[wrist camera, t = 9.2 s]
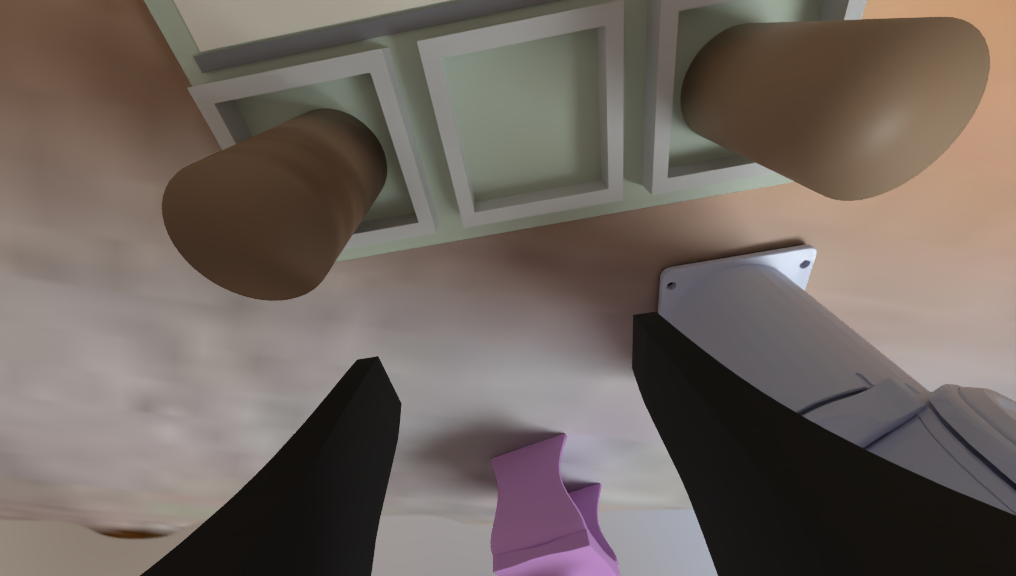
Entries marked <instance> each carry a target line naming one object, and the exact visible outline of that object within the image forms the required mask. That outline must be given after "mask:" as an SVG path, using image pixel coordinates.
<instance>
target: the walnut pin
mask: <svg viewBox="0 0 1016 576" xmlns="http://www.w3.org/2000/svg"><path fill="white" fill-rule="evenodd" d="M386 178H387V160H386V156H385V153H384V150H383V148H382V145H381V144H380V142H379V140H378V139H377V137H376V136H375V134H374V133H373V132H372V131H371V130H370V129H369V128H368V127H367V126H366V125H365V124H364V123H363V122H361V121H360V120H358V119H357V118H355V117H354V116H352V115H350V114H348V113H345V112H342V111H339V110H335V109H315V110H312V111H308V112H306V113H304V114H302V115H300V116H297V117H295V118H293V119H291V120H289V121H286V122H284V123H282V124H280V125H277V126H275V127H273V128H271V129H269V130H266V131H264V132H262V133H260V134H257V135H255V136H253V137H251V138H249V139H246V140H244V141H242V142H240V143H237V144H235V145H233V146H231V147H229V148H226V149H224V150H222V151H220V152H217V153H215V154H213V155H211V156H209V157H206V158H204V159H202V160H200V161H197V162H195V163H193V164H191V165H189V166H187V167H185V168H183V169H182V170H181V171H179V172H178V173H177V174H176V175H175V176H174V177H173V178H172V179H171V180H170V182H169V183H168V185H167V187H166V189H165V192H164V195H163V201H162V214H163V219H164V224H165V227H166V229H167V232H168V235H169V236H170V238H171V240H172V242H173V244H174V245H175V247H176V248H177V250H178V251H179V253H180V254H181V255H182V256H183V257H184V258H185V260H186V261H187V262H188V263H189V264H190V265H191V266H192V267H193V268H194V269H196V270H197V271H198V272H199V273H201V274H202V275H203V276H205V277H206V278H208V279H209V280H210V281H212V282H214V283H215V284H217V285H219V286H221V287H223V288H225V289H227V290H229V291H231V292H234V293H237V294H239V295H242V296H246V297H250V298H254V299H260V300H271V301H274V300H287V299H292V298H296V297H299V296H302V295H304V294H307V293H308V292H310V291H312V290H313V289H314V288H316V287H317V286H318V285H319V284H320V283H321V282H322V281H323V279H324V278H325V276H326V275H327V273H328V272H329V270H330V269H331V267H332V266H333V264H334V263H335V261H336V260H337V258H338V256H339V255H340V253H341V252H342V250H343V249H344V247H345V246H346V244H347V243H348V241H349V240H350V238H351V237H352V235H353V233H354V232H355V230H356V229H357V227H358V226H359V224H360V223H361V221H362V220H363V218H364V217H365V215H366V214H367V212H368V210H369V209H370V207H371V206H372V204H373V203H374V201H375V200H376V198H377V197H378V195H379V194H380V192H381V190H382V189H383V187H384V185H385V182H386Z"/></svg>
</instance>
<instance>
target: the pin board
mask: <svg viewBox="0 0 1016 576" xmlns="http://www.w3.org/2000/svg"><path fill="white" fill-rule="evenodd" d="M144 2H145V3H146V5H147V7H148V9H149V10H150V12H151V14H152V16H153V18H154V19H155V21H156V23H157V25H158V27H159V28H160V30H161V32H162V34H163V35H164V37H165V39H166V41H167V43H168V44H169V46H170V48H171V50H172V51H173V53H174V55H175V57H176V59H177V60H178V62H179V64H180V66H181V67H182V69H183V71H184V73H185V75H186V76H187V78H188V80H189V82H190V84H191V85H192V87H188V88H187V89H188V91H189V93H190V94H191V96H192V98H193V100H194V101H195V103H196V105H197V107H198V108H199V110H200V112H201V114H202V115H203V117H204V119H205V121H206V122H207V124H208V126H209V128H210V129H211V131H212V133H213V135H214V137H215V138H216V140H217V142H218V144H219V145H220V147H221V149H222V150H224V149H226V148H229V147H231V146H233V145H235V144H237V143H240V142H242V141H244V140H246V139H249V138H251V137H253V136H255V135H257V134H260V133H262V132H264V131H266V130H269V129H271V128H273V127H275V126H277V125H280V124H282V123H284V122H286V121H289V120H291V119H293V118H295V117H297V116H300V115H302V114H304V113H306V112H308V111H312V110H315V109H335V110H339V111H342V112H345V113H348V114H350V115H352V116H354V117H355V118H357V119H358V120H360V121H361V122H363V123H364V124H365V125H366V126H367V127H368V128H369V129H370V130H371V131H372V132H373V133H374V134H375V136H376V137H377V139H378V140H379V142H380V144H381V145H382V148H383V150H384V153H385V156H386V160H387V178H386V182H385V185H384V187H383V189H382V190H381V192H380V194H379V195H378V197H377V198H376V200H375V201H374V203H373V204H372V206H371V207H370V209H369V210H368V212H367V214H366V215H365V217H364V218H363V220H362V221H361V223H360V224H359V226H358V227H357V229H356V230H355V232H354V233H353V235H352V237H351V238H350V240H349V241H348V243H347V244H346V246H345V247H344V249H343V250H342V252H341V253H340V255H339V256H338V258H337V260H336V261H335V262H338V261H344V260H350V259H355V258H361V257H367V256H373V255H378V254H384V253H390V252H396V251H401V250H407V249H413V248H418V247H424V246H430V245H436V244H441V243H447V242H453V241H459V240H464V239H470V238H476V237H481V236H487V235H493V234H499V233H504V232H510V231H516V230H522V229H527V228H533V227H539V226H544V225H550V224H556V223H562V222H567V221H573V220H579V219H585V218H590V217H596V216H602V215H607V214H613V213H619V212H625V211H630V210H636V209H642V208H648V207H653V206H659V205H665V204H670V203H676V202H682V201H688V200H693V199H699V198H705V197H711V196H716V195H722V194H728V193H733V192H739V191H745V190H751V189H756V188H762V187H768V186H774V185H779V184H785V183H791V182H797V183H799V184H801V185H803V186H805V187H807V188H809V189H811V190H813V191H815V192H817V193H819V194H822V195H824V196H826V197H829V198H832V199H836V200H842V201H853V200H862V199H866V198H871V197H874V196H877V195H880V194H883V193H885V192H888V191H890V190H892V189H894V188H896V187H898V186H900V185H902V184H904V183H906V182H907V181H909V180H910V179H912V178H913V177H915V176H917V175H918V174H919V173H921V172H922V171H923V170H925V169H926V168H927V167H928V166H930V165H931V164H932V163H933V162H934V161H936V160H937V159H938V158H939V157H940V156H941V155H942V154H943V153H944V152H945V151H946V150H947V149H948V148H949V147H950V146H951V144H952V143H953V142H954V141H955V140H956V139H957V137H958V136H959V135H960V134H961V132H962V131H963V130H964V128H965V127H966V125H967V124H968V122H969V121H970V119H971V118H972V116H973V114H974V112H975V111H976V109H977V107H978V105H979V103H980V100H981V98H982V96H983V93H984V90H985V87H986V84H987V80H988V75H989V69H990V56H989V50H988V46H987V43H986V41H985V38H984V37H983V35H982V34H981V32H980V31H979V30H978V29H977V28H976V27H974V26H973V25H972V24H970V23H968V22H966V21H964V20H961V19H957V18H953V17H924V18H893V19H862V16H863V12H864V9H865V6H866V2H867V0H144ZM861 19H862V20H861Z"/></svg>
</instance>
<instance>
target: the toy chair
mask: <svg viewBox="0 0 1016 576" xmlns="http://www.w3.org/2000/svg"><path fill="white" fill-rule="evenodd" d="M566 438H567V435H566V434H565V433H564V434H561V435H558V436H555V437H552V438H549V439H546V440H543V441H540V442H538V443H535V444H532V445H529V446H526V447H523V448H520V449H517V450H514V451H512V452H509V453H506V454H503V455H500V456H497V457H494V458H492V459H491V460H490V461H491V464H492V466H493V469H494V472H495V475H496V480H497V485H498V502H497V509H496V515H495V519H494V524H493V529H492V534H491V551H492V554H493V572H494V573H495V574H497V575H498V576H621V575H620V571H619V567H618V561H617V558H616V556H615V554H614V552H613V550H612V549H611V547H610V546H609V544H608V543H607V542H606V540H605V538H604V536H603V534H602V532H601V529H600V526H599V523H598V504H599V497H600V492H601V487H602V485H601V484H600V483H599V484H595V485H592V486H589V487H586V488H582V489H579V490H576V491H573V492H570V493H567V491H566V489H565V487H564V485H563V482H562V479H561V475H560V462H561V455H562V451H563V447H564V444H565V441H566Z"/></svg>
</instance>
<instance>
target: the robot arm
mask: <svg viewBox="0 0 1016 576" xmlns="http://www.w3.org/2000/svg"><path fill="white" fill-rule="evenodd" d="M816 254H817V250H816V248H814V247H812V246H811V245H800V246H794V247H788V248H782V249H776V250H770V251H764V252H758V253H752V254H746V255H740V256H734V257H728V258H722V259H716V260H710V261H704V262H698V263H692V264H686V265H680V266H674V267H669V268H666V269H665V270H663V272H662V273H661V276H660V288H659V303H658V313H657V312H651V313H644V314H638V315H633V353H632V369H633V372H634V375H635V378H636V381H637V384H638V387H639V390H640V392H641V395H642V398H643V401H644V403H645V405H646V407H647V409H648V412H649V414H650V416H651V418H652V420H653V422H654V424H655V426H656V428H657V430H658V432H659V434H660V436H661V438H662V440H663V443H664V445H665V447H666V449H667V451H668V453H669V455H670V457H671V459H672V461H673V463H674V465H675V467H676V469H677V471H678V473H679V475H680V477H681V480H682V482H683V484H684V486H685V489H686V491H687V493H688V496H689V498H690V501H691V504H692V506H693V509H694V511H695V514H696V517H697V519H698V522H699V525H700V527H701V530H702V532H703V535H704V538H705V540H706V544H707V546H708V549H709V552H710V555H711V557H712V560H713V562H714V566H715V568H716V571H717V574H718V576H1016V402H1015V401H1013V400H1011V399H1009V398H1008V397H1006V396H1004V395H1001V394H999V393H997V392H995V391H992V390H989V389H985V388H973V387H961V386H958V385H953V384H945V385H942V386H941V387H939V388H938V389H936V390H935V391H933V392H930V391H928V390H927V389H926V388H924V387H923V386H922V385H921V384H919V383H918V382H917V381H916V380H914V379H913V378H912V377H911V376H909V375H908V374H907V373H906V372H905V371H903V370H902V369H901V368H900V367H898V366H897V365H896V364H895V363H893V362H892V361H891V360H890V359H888V358H887V357H886V356H885V355H883V354H882V353H881V352H880V351H879V350H877V349H876V348H875V347H874V346H872V345H871V344H870V343H869V342H867V341H866V340H865V339H864V338H862V337H861V336H860V335H859V334H858V333H856V332H855V331H854V330H853V329H851V328H850V327H849V326H848V325H846V324H845V323H844V322H843V321H841V320H840V319H839V318H838V317H836V316H835V315H834V314H833V313H832V312H830V311H829V310H828V309H827V308H825V307H824V306H823V305H822V304H820V303H819V302H818V301H817V300H815V299H814V298H813V297H812V296H811V295H809V294H808V293H807V292H806V291H805V288H806V285H807V282H808V279H809V276H810V273H811V270H812V267H813V264H814V261H815V257H816ZM803 261H804V262H803ZM801 262H803V263H802V264H801ZM671 282H673V284H672V285H670V286H667V285H668V284H669V283H671ZM400 414H401V402H400V400H399V398H398V396H397V394H396V392H395V390H394V388H393V386H392V384H391V382H390V379H389V377H388V375H387V373H386V371H385V369H384V367H383V365H382V363H381V361H380V359H379V357H371V358H365V359H359V360H357V361H356V362H355V363H354V364H353V365H352V366H351V368H350V369H349V370H348V371H347V372H346V374H345V375H344V376H343V377H342V378H341V380H340V381H339V382H338V383H337V384H336V386H335V387H334V388H333V389H332V391H331V392H330V393H329V394H328V395H327V397H326V398H325V399H324V400H323V401H322V403H321V404H320V405H319V406H318V407H317V408H316V410H315V411H314V412H313V413H312V414H311V416H310V417H309V418H308V419H307V420H306V422H305V423H304V424H303V425H302V426H301V427H300V428H299V429H298V430H297V432H296V433H295V434H294V435H293V436H292V437H291V438H290V439H289V440H288V441H287V443H286V444H285V445H284V446H283V447H282V448H281V449H280V450H279V451H278V452H277V454H276V455H275V456H274V457H273V458H272V459H271V460H270V461H269V462H268V463H267V464H266V465H265V466H264V467H263V468H262V469H261V470H260V471H259V472H258V473H257V474H256V475H255V476H254V477H253V478H252V479H251V480H250V481H249V482H248V483H247V484H246V485H245V486H244V487H243V488H242V489H241V490H240V491H239V492H238V493H237V494H236V495H235V496H234V497H232V498H231V499H230V500H229V501H228V502H227V503H226V504H225V505H224V506H223V507H221V508H220V509H219V510H218V511H217V512H216V513H215V514H213V515H212V516H211V517H210V518H209V519H208V520H207V521H205V522H204V523H203V524H202V525H201V526H200V527H199V528H197V529H196V530H195V531H194V532H193V533H192V534H191V535H190V536H189V537H187V538H186V539H185V540H184V541H183V542H181V543H180V544H179V545H178V546H177V547H175V548H174V549H173V550H172V551H170V552H169V553H168V554H167V555H165V556H164V557H163V558H162V559H161V560H160V561H158V562H157V563H156V564H154V565H153V566H152V567H151V568H149V569H148V570H147V571H145V572H144V573H143V574H142V575H140V576H371V572H372V564H373V557H374V549H375V542H376V536H377V530H378V525H379V519H380V515H381V511H382V507H383V503H384V498H385V494H386V490H387V485H388V481H389V477H390V472H391V468H392V464H393V459H394V455H395V450H396V445H397V441H398V434H399V425H400Z"/></svg>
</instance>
